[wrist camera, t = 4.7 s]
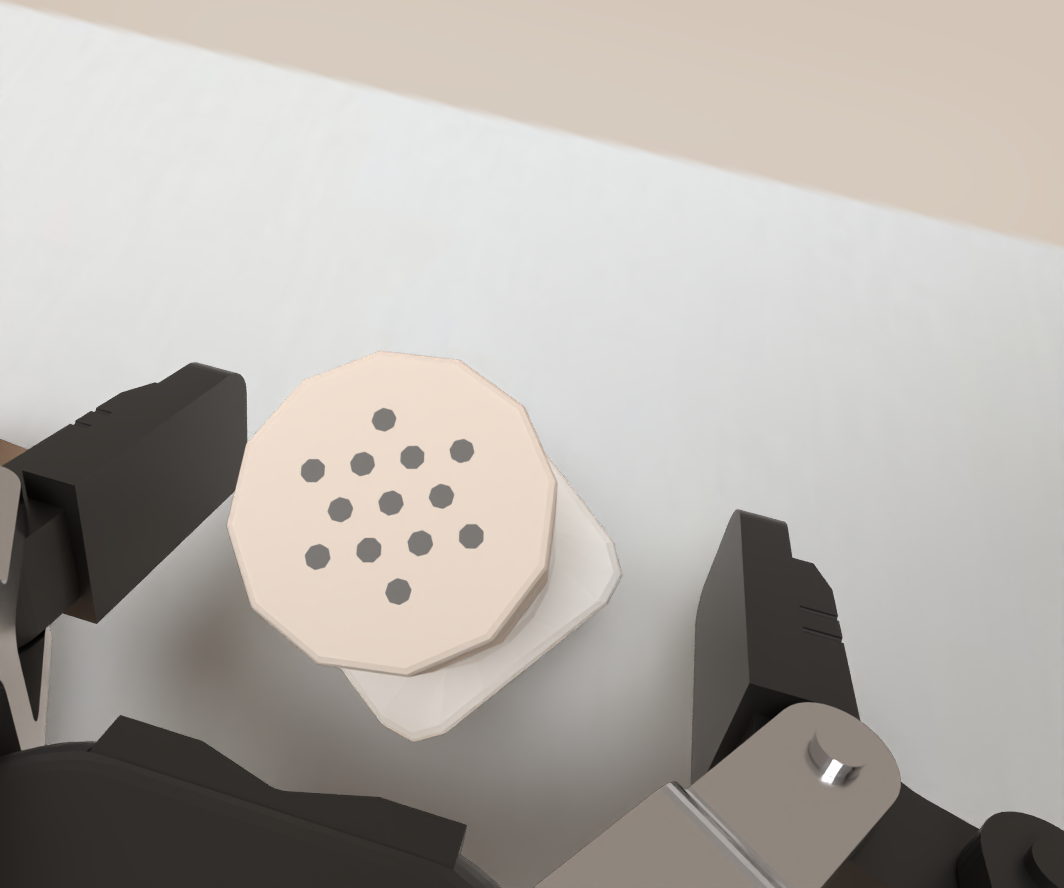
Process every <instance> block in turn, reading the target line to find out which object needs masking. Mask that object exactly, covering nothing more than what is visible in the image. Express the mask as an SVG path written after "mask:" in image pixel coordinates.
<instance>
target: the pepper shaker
mask: <svg viewBox="0 0 1064 888" xmlns="http://www.w3.org/2000/svg"><path fill="white" fill-rule="evenodd" d="M227 530H228V533H229V536H230V539H231V543H232V546H233V549H234V552H235V556H236V559H237V562H238V566H239V569H240V572H241V575H242V579H243V582H244V585H245V588H246V592H247V595H248V598H249V601H250V605H251V608H252V609H253V610H254V611H255V612H256V613H258V614H259V615H260V616H261V617H262V618H263V619H265V620H266V621H267V622H268V623H269V624H270V625H272V626H273V627H274V628H275V629H276V630H278V631H279V632H280V633H281V634H282V635H283V636H285V637H286V638H287V639H288V640H289V641H290V642H292V643H293V644H294V645H295V646H296V647H297V648H299V649H300V650H301V651H302V652H303V653H304V654H306V655H307V656H308V657H309V658H310V659H311V660H313V661H314V662H315V663H316V664H317V665H322V666H329V667H336V668H341V669H342V671H343V672H344V674H345V675H346V677H347V678H348V679H349V681H350V682H351V683H352V685H353V686H354V687H355V689H356V690H357V691H358V693H359V694H360V695H361V697H362V698H363V699H364V701H365V702H366V703H367V705H368V706H369V708H370V709H371V710H372V712H373V713H374V714H375V716H376V717H377V718H378V720H379V721H380V722H381V724H382V725H384V726H385V727H387V728H389V729H391V730H393V731H394V732H396V733H398V734H400V735H402V736H403V737H405V738H407V739H409V740H410V741H412V742H414V741H418V740H422V739H426V738H430V737H434V736H438V735H442V734H445V733H446V732H447V731H449V730H450V729H451V728H453V727H454V726H455V725H456V724H458V723H459V722H460V721H461V720H463V719H464V718H465V717H466V716H468V715H469V714H470V713H471V712H473V711H474V710H475V709H476V708H478V707H479V706H480V705H481V704H483V703H484V702H485V701H486V700H488V699H489V698H490V697H491V696H493V695H494V694H495V693H496V692H498V691H499V690H500V689H501V688H503V687H504V686H505V685H506V684H508V683H509V682H510V681H511V680H513V679H514V678H515V677H516V676H518V675H519V674H520V673H521V672H523V671H524V670H525V669H526V668H528V667H529V666H530V665H531V664H533V663H534V662H535V661H536V660H538V659H539V658H540V657H541V656H543V655H544V654H545V653H547V652H548V651H549V650H550V649H552V648H553V647H554V646H555V645H557V644H558V643H559V642H560V641H562V640H563V639H564V638H565V637H567V636H568V635H569V634H570V633H572V632H573V631H574V630H575V629H577V628H578V627H579V626H580V625H582V624H583V623H584V622H585V621H586V620H588V619H589V618H590V617H591V616H593V615H594V614H595V613H596V612H598V611H599V610H600V609H601V608H603V607H604V606H605V605H606V604H608V602H609V600H610V598H611V596H612V594H613V592H614V591H615V589H616V587H617V585H618V583H619V581H620V579H621V577H622V572H621V568H620V564H619V560H618V556H617V552H616V548H615V544H614V542H613V541H612V539H611V538H610V537H609V535H608V534H607V533H606V531H605V530H604V529H603V527H602V526H601V525H600V523H599V522H598V521H597V519H596V518H595V517H594V515H593V514H592V513H591V511H590V510H589V509H588V507H587V506H586V505H585V503H584V502H583V501H582V499H581V498H580V497H579V495H578V494H577V493H576V492H575V490H574V489H573V488H572V486H571V485H570V484H569V483H568V481H567V480H566V479H565V477H564V476H563V475H562V474H561V472H560V471H559V470H558V468H557V467H556V466H555V465H554V463H553V462H552V461H551V460H550V458H549V457H548V456H547V455H546V454H545V452H544V450H543V447H542V445H541V443H540V441H539V438H538V436H537V434H536V431H535V429H534V427H533V424H532V422H531V420H530V417H529V415H528V413H527V411H526V408H525V407H524V406H523V405H521V404H520V403H519V402H517V401H516V400H514V399H513V398H512V397H510V396H509V395H507V394H506V393H505V392H503V391H502V390H501V389H499V388H498V387H496V386H495V385H494V384H492V383H491V382H490V381H488V380H487V379H485V378H484V377H483V376H481V375H480V374H479V373H477V372H476V371H474V370H473V369H472V368H470V367H469V366H468V365H466V364H465V363H463V362H462V361H461V360H455V359H446V358H437V357H429V356H420V355H412V354H403V353H394V352H386V351H378V352H375V353H373V354H370V355H368V356H365V357H362V358H360V359H357V360H355V361H352V362H350V363H347V364H344V365H342V366H339V367H337V368H334V369H331V370H329V371H326V372H324V373H321V374H319V375H316V376H313V377H311V378H308V379H306V380H303V381H302V382H301V383H300V384H299V385H298V386H297V387H296V388H295V390H294V391H293V392H292V393H291V394H290V395H289V396H288V397H287V399H286V400H285V401H284V402H283V403H282V404H281V405H280V406H279V408H278V409H277V410H276V411H275V412H274V413H273V414H272V415H271V417H270V418H269V419H268V420H267V421H266V422H265V423H264V424H263V426H262V427H261V428H260V429H259V430H258V431H257V432H256V433H255V435H254V436H253V437H252V438H251V439H250V440H249V441H248V442H247V444H246V447H245V452H244V456H243V460H242V464H241V468H240V473H239V477H238V481H237V485H236V489H235V494H234V498H233V502H232V506H231V510H230V515H229V519H228V523H227Z"/></svg>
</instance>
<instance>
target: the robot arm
mask: <svg viewBox="0 0 1064 888" xmlns="http://www.w3.org/2000/svg"><path fill="white" fill-rule="evenodd" d="M246 444H247V392H246V384H245V381H244V378H243V377H242V376H241V375H240V374H238V373H234V372H230V371H226V370H223V369H219V368H215V367H212V366H208V365H204V364H200V363H195V362H193V363H190V364H188V365H186V366H185V367H183V368H181V369H180V370H178V371H177V372H175V373H174V374H172V375H170V376H169V377H167V378H166V379H164V380H163V381H161V382H159V383H152V384H148V385H145V386H142V387H138V388H135V389H132V390H128V391H125V392H122V393H120V394H118V395H117V396H115V397H113V398H112V399H110V400H108V401H107V402H105V403H103V404H102V405H100V406H99V407H97V408H96V411H95V412H93V411H90V412H89V413H87V414H86V415H84V416H82V417H81V418H79V419H77V420H76V421H75V424H74V425H72V424H69V425H68V426H66V427H64V428H63V429H61V430H59V431H58V432H56V433H55V434H53V435H51V436H50V437H48V438H46V439H45V440H43V441H41V442H40V443H38V444H37V445H35V446H33V447H32V448H30V449H28V450H27V451H25V452H23V453H22V454H20V455H19V456H17V457H15V458H14V459H12V460H10V461H9V462H7V463H6V464H4V465H2V466H0V888H501V887H500V886H499V885H498V884H497V883H496V882H495V881H494V880H493V879H492V878H490V877H489V876H488V875H487V874H486V873H485V872H483V871H482V870H481V869H480V868H479V867H478V866H476V865H475V864H473V863H472V862H470V861H469V860H467V859H466V858H464V857H463V856H461V855H460V854H461V850H462V845H463V841H464V837H465V832H466V828H467V825H465V824H462V823H459V822H456V821H453V820H449V819H446V818H443V817H440V816H437V815H434V814H430V813H427V812H424V811H421V810H418V809H415V808H412V807H408V806H405V805H402V804H399V803H396V802H393V801H389V800H386V799H383V798H380V797H368V796H352V795H336V794H320V793H304V792H288V791H281V790H278V789H275V788H273V787H271V786H269V785H268V784H266V783H265V782H263V781H262V780H260V779H259V778H257V777H256V776H254V775H253V774H251V773H250V772H248V771H247V770H245V769H244V768H242V767H241V766H239V765H238V764H236V763H235V762H233V761H232V760H230V759H229V758H227V757H226V756H224V755H223V754H221V753H220V752H218V751H217V750H215V749H214V748H212V747H211V746H209V745H208V744H206V743H205V742H203V741H200V740H197V739H194V738H191V737H188V736H185V735H181V734H178V733H175V732H172V731H169V730H166V729H163V728H159V727H156V726H153V725H150V724H147V723H144V722H140V721H137V720H134V719H131V718H128V717H125V716H122V715H120V716H119V717H118V718H117V719H116V720H115V722H114V723H113V724H112V725H111V726H110V727H109V728H108V730H107V731H106V732H105V733H104V734H103V735H102V737H101V738H100V739H99V740H98V741H97V742H94V741H87V742H66V743H59V744H52V745H45V733H46V719H47V704H48V690H49V676H50V662H51V648H52V636H51V631H50V626H49V625H50V624H51V623H52V622H53V621H54V620H55V619H57V618H58V617H59V616H60V615H61V614H62V613H63V614H67V615H70V616H73V617H76V618H80V619H83V620H86V621H89V622H93V623H96V624H97V623H98V622H99V621H100V620H101V619H102V618H103V617H104V616H105V615H107V614H108V613H109V612H110V611H111V610H112V609H113V608H114V607H115V606H116V605H117V604H118V603H119V602H120V601H121V600H122V599H123V598H124V597H125V596H126V595H127V594H128V593H129V592H130V591H131V590H132V589H134V588H135V587H136V586H137V585H138V584H139V583H140V582H141V581H142V580H143V579H144V578H145V577H146V576H147V575H148V574H149V573H150V572H151V571H152V570H153V569H154V568H155V567H156V566H157V565H158V564H159V563H160V562H162V561H163V560H164V559H165V558H166V557H167V556H168V555H169V554H170V553H171V552H172V551H173V550H174V549H175V548H176V547H177V546H178V545H179V544H180V543H181V542H182V541H183V540H184V539H185V538H186V537H187V536H189V535H190V534H191V533H192V532H193V531H194V530H195V529H196V528H197V527H198V526H199V525H200V524H201V523H202V522H203V521H204V520H205V519H206V518H207V517H208V516H209V515H210V514H211V513H212V512H213V511H214V510H215V509H217V508H218V507H219V506H220V505H221V504H222V503H223V502H224V501H225V500H226V499H227V498H228V497H229V496H230V495H231V494H232V493H233V492H234V491H235V489H236V485H237V481H238V477H239V473H240V468H241V464H242V460H243V456H244V452H245V447H246ZM837 617H838V614H837V610H836V605H835V600H834V596H833V591H832V589H831V587H830V586H829V585H828V583H827V582H826V580H825V579H824V578H823V576H822V575H821V573H820V572H819V571H818V569H817V568H816V566H815V565H814V564H813V563H809V562H806V561H802V560H798V559H795V558H792V553H791V547H790V540H789V533H788V527H787V524H786V522H783V521H780V520H776V519H772V518H769V517H765V516H761V515H757V514H754V513H750V512H746V511H743V510H739V509H737V510H735V512H734V513H733V515H732V517H731V519H730V521H729V523H728V526H727V528H726V531H725V533H724V536H723V538H722V541H721V544H720V546H719V549H718V551H717V554H716V556H715V559H714V561H713V564H712V566H711V569H710V572H709V574H708V577H707V579H706V582H705V584H704V587H703V590H702V593H701V597H700V601H699V605H698V610H697V616H696V624H695V655H694V689H693V722H692V756H691V786H690V787H689V788H687V789H685V790H684V789H683V788H682V787H681V786H680V785H679V784H678V783H677V782H670V783H668V784H666V785H664V786H662V787H661V788H659V789H658V790H656V791H655V792H654V793H652V794H651V795H650V796H649V797H647V798H646V799H645V800H644V801H642V802H641V803H640V804H639V805H637V806H636V807H635V808H634V809H632V810H631V811H630V812H628V813H627V814H626V815H625V816H623V817H622V818H621V819H620V820H618V821H617V822H616V823H615V824H613V825H612V826H611V827H609V828H608V829H607V830H606V831H604V832H603V833H602V834H601V835H599V836H598V837H597V838H596V839H594V840H593V841H592V842H591V843H589V844H588V845H587V846H585V847H584V848H583V849H582V850H580V851H579V852H578V853H577V854H575V855H574V856H573V857H572V858H570V859H569V860H568V861H566V862H565V863H564V864H563V865H561V866H560V867H559V868H558V869H556V870H555V871H554V872H553V873H551V874H550V875H549V876H548V877H546V878H545V879H544V880H542V881H541V882H540V883H539V884H537V885H536V886H535V887H534V888H1064V831H1063V830H1061V829H1060V828H1058V827H1056V826H1054V825H1052V824H1051V823H1049V822H1047V821H1045V820H1042V819H1040V818H1037V817H1035V816H1032V815H1028V814H1024V813H1019V812H1001V813H997V814H994V815H993V816H991V817H990V818H988V819H987V821H986V822H985V823H984V824H983V825H982V827H981V828H980V829H978V828H976V827H974V826H972V825H971V824H969V823H967V822H965V821H964V820H962V819H960V818H958V817H956V816H955V815H953V814H951V813H949V812H948V811H946V810H944V809H942V808H940V807H939V806H937V805H935V804H933V803H932V802H930V801H928V800H926V799H925V798H923V797H921V796H920V795H918V794H917V793H915V792H914V791H912V790H911V789H910V788H908V787H907V786H905V785H904V784H903V783H902V782H901V778H900V773H899V769H898V766H897V764H896V761H895V759H894V757H893V756H892V754H891V752H890V750H889V749H888V748H887V746H886V745H885V744H884V742H883V741H882V740H881V739H880V738H879V737H878V736H877V735H876V734H875V733H874V732H873V731H872V730H871V729H870V728H869V727H867V726H866V725H865V724H864V723H862V722H861V721H860V718H859V713H858V708H857V704H856V699H855V694H854V690H853V685H852V680H851V675H850V671H849V666H848V661H847V657H846V652H845V647H844V643H841V641H842V633H841V628H840V624H839V621H837Z"/></svg>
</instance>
